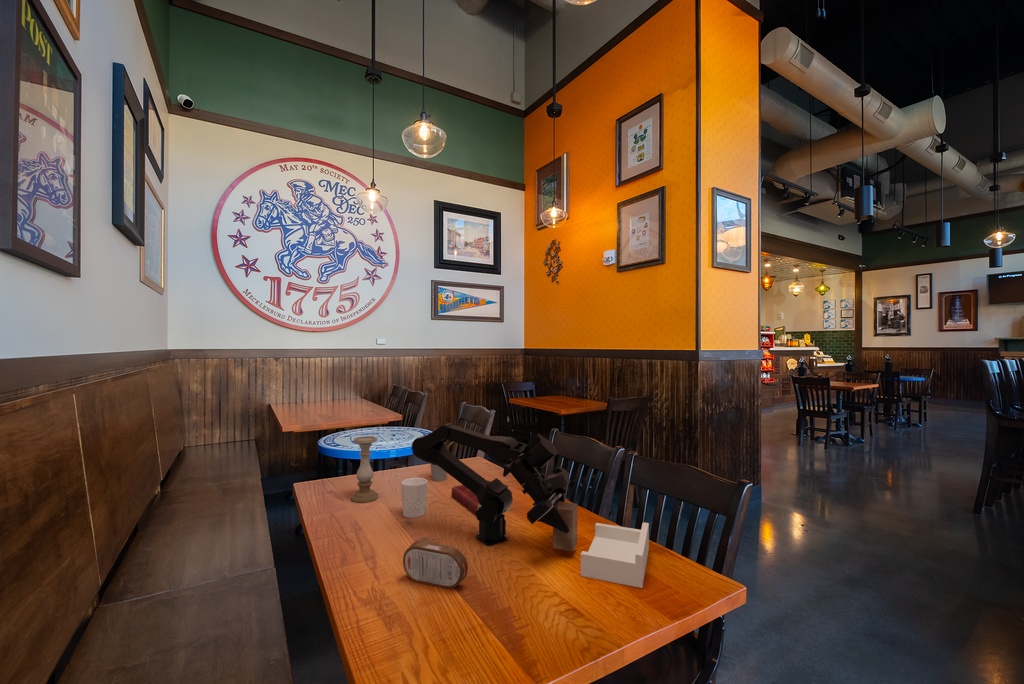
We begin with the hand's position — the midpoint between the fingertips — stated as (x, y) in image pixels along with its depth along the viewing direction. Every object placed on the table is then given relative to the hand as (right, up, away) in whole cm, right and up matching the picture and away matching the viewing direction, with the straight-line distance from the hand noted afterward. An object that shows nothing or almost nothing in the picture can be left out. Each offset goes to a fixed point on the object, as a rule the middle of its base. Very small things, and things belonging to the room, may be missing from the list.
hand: (570, 528), depth 111 cm
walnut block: (-1, -5, +1) cm, 5 cm away
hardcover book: (-25, -7, +35) cm, 44 cm away
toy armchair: (+11, -7, -4) cm, 13 cm away
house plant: (-44, -7, +60) cm, 75 cm away
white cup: (-45, -6, +25) cm, 52 cm away
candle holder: (-65, -6, +38) cm, 76 cm away
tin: (-32, -6, -14) cm, 35 cm away
